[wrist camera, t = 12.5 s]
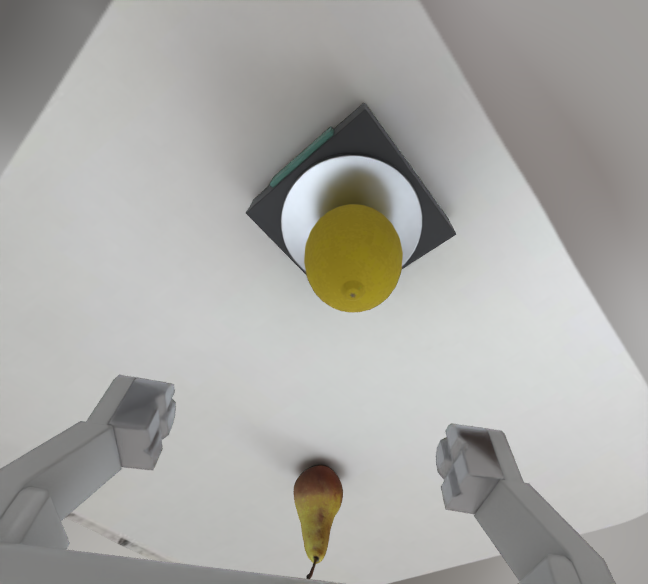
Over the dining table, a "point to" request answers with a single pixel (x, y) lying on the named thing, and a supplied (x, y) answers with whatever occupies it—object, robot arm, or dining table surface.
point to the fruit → (317, 509)
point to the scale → (347, 137)
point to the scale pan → (350, 199)
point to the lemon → (353, 258)
